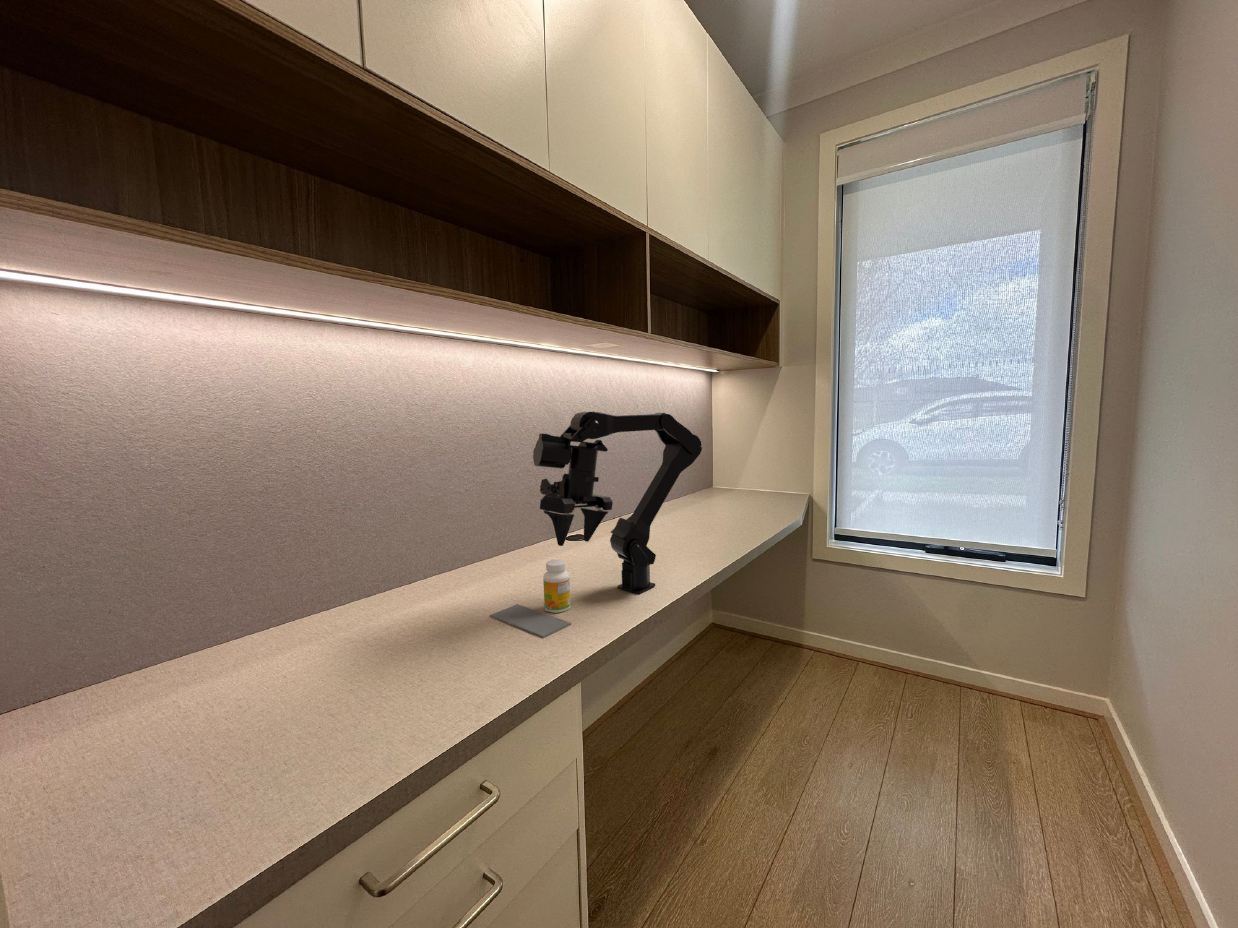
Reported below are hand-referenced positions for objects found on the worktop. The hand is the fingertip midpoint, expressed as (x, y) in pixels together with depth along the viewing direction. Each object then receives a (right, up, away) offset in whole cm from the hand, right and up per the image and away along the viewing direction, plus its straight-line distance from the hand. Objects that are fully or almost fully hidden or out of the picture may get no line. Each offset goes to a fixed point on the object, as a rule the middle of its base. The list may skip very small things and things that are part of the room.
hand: (573, 543), depth 103 cm
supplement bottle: (-3, -13, -3) cm, 14 cm away
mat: (-8, -14, -9) cm, 18 cm away
